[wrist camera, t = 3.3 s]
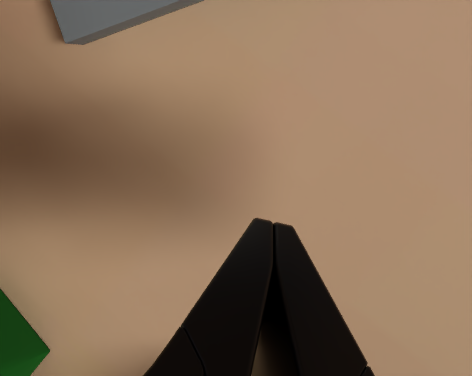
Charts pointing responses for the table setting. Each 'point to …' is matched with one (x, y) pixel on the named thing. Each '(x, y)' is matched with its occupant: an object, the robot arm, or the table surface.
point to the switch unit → (108, 16)
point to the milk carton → (18, 342)
